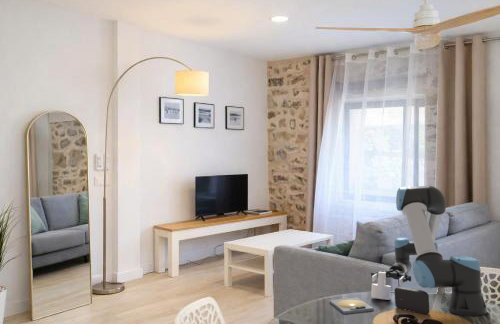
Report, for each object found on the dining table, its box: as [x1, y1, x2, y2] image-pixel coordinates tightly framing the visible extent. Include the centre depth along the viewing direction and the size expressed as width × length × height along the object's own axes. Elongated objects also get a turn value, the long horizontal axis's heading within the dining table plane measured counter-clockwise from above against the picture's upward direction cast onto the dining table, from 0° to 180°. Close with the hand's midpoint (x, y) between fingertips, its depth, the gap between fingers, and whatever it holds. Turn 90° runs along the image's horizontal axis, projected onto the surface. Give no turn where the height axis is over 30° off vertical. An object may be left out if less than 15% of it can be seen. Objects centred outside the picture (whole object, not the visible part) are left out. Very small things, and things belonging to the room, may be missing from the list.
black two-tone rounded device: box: [394, 286, 430, 315], centre depth 212 cm, size 16×5×9 cm, turn 41°
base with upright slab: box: [370, 272, 392, 301], centre depth 231 cm, size 9×9×12 cm
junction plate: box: [329, 296, 375, 315], centre depth 222 cm, size 18×14×2 cm
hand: (386, 280), depth 238 cm, fingers open, 13 cm apart
